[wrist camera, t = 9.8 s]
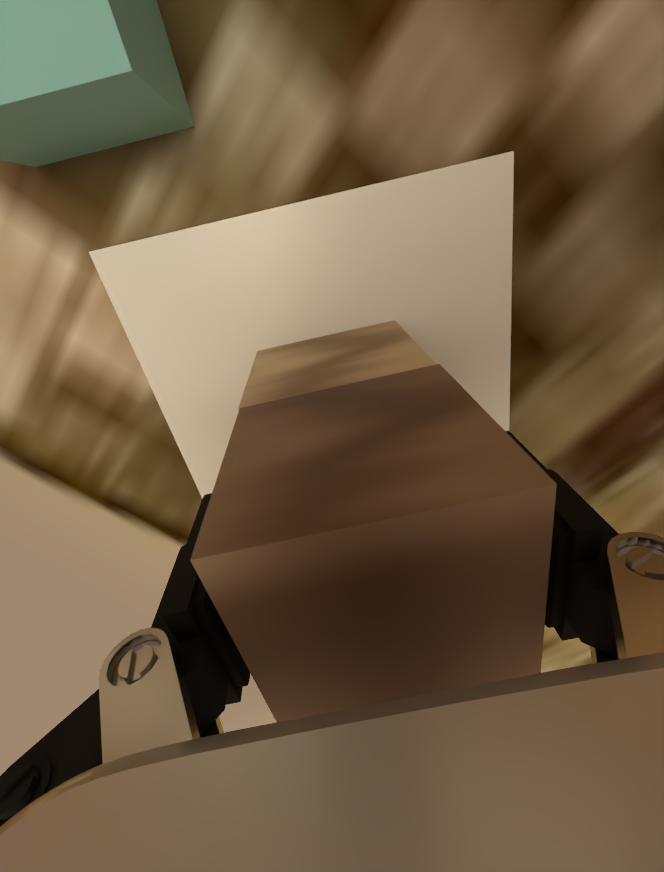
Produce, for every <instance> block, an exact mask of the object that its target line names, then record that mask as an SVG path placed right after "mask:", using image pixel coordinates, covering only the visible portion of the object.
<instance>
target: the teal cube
mask: <svg viewBox="0 0 664 872" xmlns="http://www.w3.org/2000/svg"><path fill="white" fill-rule="evenodd" d="M191 127H195V125H194V122H193V119H192V115H191V112H190V109H189V106H188V102H187V99H186V96H185V92H184V89H183V86H182V82H181V79H180V76H179V73H178V69H177V66H176V63H175V59H174V56H173V53H172V50H171V46H170V43H169V40H168V36H167V33H166V30H165V27H164V23H163V20H162V17H161V13H160V10H159V7H158V3H157V0H0V160H2V161H7V162H12V163H17V164H22V165H27V166H31V167H38V166H42V165H46V164H50V163H54V162H58V161H62V160H66V159H70V158H74V157H78V156H82V155H86V154H89V153H93V152H97V151H101V150H105V149H109V148H113V147H117V146H121V145H125V144H129V143H133V142H137V141H140V140H144V139H148V138H152V137H156V136H160V135H164V134H168V133H172V132H176V131H180V130H184V129H188V128H191Z"/></svg>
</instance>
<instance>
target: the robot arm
mask: <svg viewBox="0 0 664 872" xmlns="http://www.w3.org/2000/svg"><path fill="white" fill-rule="evenodd" d="M506 432H507V434H508V435H509V436H510V437H511V438H512V439H513V440H514V441H515V442H516V443H517V444H518V445H519V446H520V447H521V448H522V449H523V450H524V451H525V452H526V453H527V454H528V455H529V456H530V457H531V458H532V459H533V460H534V461H535V462H536V463H537V464H538V465H539V466H540V467H541V468H542V469H543V470H544V471H545V472H546V473H547V475H548V476H549V477H550V478H551V479H552V480H553V481H554V482H555V483H556V484H557V487H556V498H555V510H554V521H553V533H552V544H551V556H550V567H549V579H548V590H547V602H546V613H545V625H546V626H547V627H549V628H550V627H554V628H555V630H556V631H557V633H558V635H559V636H560V638H561V639H562V640H568V639H573V638H578V637H579V639H580V640H581V642H583V643H585V644H587V645H589V646H590V649H591V658H592V664H588V665H582V666H577V667H571V668H566V669H560V670H555V671H549V672H544V673H538V674H533V675H527V676H522V677H516V678H511V679H505V680H500V681H494V682H489V683H483V684H478V685H472V686H467V687H462V688H456V689H451V690H446V691H440V692H435V693H429V694H424V695H419V696H413V697H408V698H403V699H397V700H392V701H387V702H382V703H376V704H371V705H366V706H360V707H355V708H350V709H344V710H339V711H334V712H329V713H324V714H318V715H313V716H308V717H303V718H298V719H293V720H287V721H282V722H277V723H272V724H267V725H262V726H257V727H251V728H246V729H241V730H236V731H231V732H226V733H224V731H223V728H222V725H221V722H220V719H219V715H220V714H221V713H222V712H223V711H224V709H225V705H226V704H231V703H237V702H240V701H241V694H242V686H247V685H248V683H249V678H250V671H249V669H248V667H247V665H246V664H245V662H244V660H243V658H242V656H241V654H240V652H239V651H238V649H237V647H236V645H235V643H234V641H233V639H232V637H231V636H230V634H229V632H228V630H227V628H226V626H225V624H224V623H223V621H222V619H221V617H220V615H219V613H218V611H217V609H216V608H215V606H214V604H213V602H212V600H211V598H210V596H209V595H208V593H207V591H206V589H205V587H204V585H203V583H202V581H201V580H200V578H199V576H198V574H197V572H196V570H195V568H194V567H193V565H192V563H191V561H190V559H191V556H192V553H193V550H194V547H195V544H196V541H197V538H198V535H199V531H200V528H201V525H202V522H203V519H204V516H205V513H206V510H207V507H208V504H209V501H210V498H211V495H212V493H210V494H206V495H204V497H203V499H202V502H201V504H200V507H199V510H198V513H197V516H196V519H195V521H194V524H193V527H192V530H191V533H190V535H189V538H188V541H187V544H186V545H184V546H182V547H181V549H180V551H179V553H178V556H177V559H176V562H175V564H174V567H173V570H172V572H171V575H170V578H169V580H168V583H167V586H166V589H165V591H164V594H163V597H162V599H161V602H160V605H159V608H158V610H157V613H156V616H155V619H154V621H153V624H152V627H151V628H146V629H141V630H139V631H137V632H135V633H132V634H130V635H129V636H128V637H126V638H125V639H123V640H122V641H121V642H120V643H119V644H118V645H117V646H115V647H114V649H113V650H112V651H111V652H110V653H109V655H108V656H107V658H106V659H105V660H104V663H103V665H102V667H101V669H100V674H99V689H98V690H97V691H96V692H95V693H94V694H93V695H91V696H90V697H89V698H88V699H87V700H86V701H84V702H83V703H82V704H81V705H80V706H79V707H78V708H77V709H75V710H74V711H73V712H72V713H71V714H70V715H69V716H67V717H66V718H65V719H64V720H63V721H62V722H60V723H59V724H58V725H57V726H56V727H55V728H54V729H52V730H51V731H50V732H49V733H48V734H47V735H45V736H44V737H43V738H42V739H41V740H40V741H39V742H38V743H36V744H35V745H34V746H33V747H32V748H31V749H29V750H28V751H27V752H26V753H25V754H24V755H23V756H22V757H20V758H19V759H18V760H17V761H16V762H15V763H13V764H12V765H11V766H10V767H9V768H8V769H7V770H6V771H5V772H4V773H3V774H2V775H1V776H0V872H664V538H663V537H660V536H657V535H654V534H649V533H644V532H628V533H623V534H618V533H617V532H616V531H615V530H614V529H613V528H612V527H611V526H610V525H609V524H608V523H607V522H606V521H605V520H604V519H603V518H602V517H601V516H600V515H599V514H598V513H597V512H596V511H595V510H594V509H593V508H592V507H591V506H590V505H589V504H588V503H587V502H586V501H585V500H584V499H583V498H582V497H581V496H580V495H579V494H578V493H576V492H575V491H574V490H573V489H572V488H571V487H570V486H569V485H568V484H567V483H566V482H565V481H564V480H563V479H562V478H561V477H560V476H559V475H558V474H557V473H556V472H554V471H553V470H547V469H546V468H545V467H544V466H543V465H542V464H541V463H540V462H539V461H538V460H537V459H536V458H535V457H534V456H533V455H532V454H531V453H530V452H529V451H528V450H527V449H526V448H525V447H524V446H523V445H522V444H521V443H520V442H519V441H518V440H517V439H516V438H515V437H514V435H513V434H512V433H510V432H509V431H506Z"/></svg>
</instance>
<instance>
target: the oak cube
mask: <svg viewBox="0 0 664 872" xmlns="http://www.w3.org/2000/svg"><path fill="white" fill-rule="evenodd" d="M432 365H436V363H435V362H434V361H433V360H432V359H431V358H430V357H429V356H428V355H427V354H426V353H425V352H424V351H423V350H422V348H421V347H420V346H419V345H418V344H417V343H416V342H415V341H414V340H413V339H412V338H411V337H410V336H409V335H408V334H407V333H406V332H405V331H404V330H403V329H402V327H401V326H400V325H399V324H398V323H397V322H396V321H395V320H393V321H388V322H384V323H379V324H375V325H371V326H366V327H362V328H357V329H353V330H348V331H344V332H339V333H335V334H330V335H326V336H322V337H317V338H313V339H308V340H304V341H299V342H295V343H290V344H286V345H281V346H277V347H272V348H268V349H264V350H259V351H257V353H256V356H255V359H254V362H253V365H252V368H251V371H250V374H249V377H248V380H247V383H246V386H245V389H244V392H243V395H242V398H241V401H240V404H239V407H238V411H239V409H240V408H242V407H247V406H251V405H256V404H260V403H265V402H270V401H274V400H279V399H283V398H288V397H292V396H297V395H301V394H306V393H310V392H315V391H319V390H324V389H328V388H333V387H337V386H342V385H346V384H351V383H355V382H360V381H364V380H369V379H373V378H378V377H382V376H387V375H391V374H396V373H400V372H405V371H409V370H414V369H418V368H423V367H427V366H432Z"/></svg>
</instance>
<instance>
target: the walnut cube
mask: <svg viewBox="0 0 664 872" xmlns="http://www.w3.org/2000/svg"><path fill="white" fill-rule="evenodd" d="M556 487H557V484H556V483H555V482H554V481H553V480H552V479H551V478H550V477H549V476H548V475H547V473H546V472H545V471H544V470H543V469H542V468H541V467H540V466H539V465H538V464H537V463H536V462H535V461H534V460H533V459H532V458H531V457H530V456H529V455H528V454H527V453H526V452H525V451H524V450H523V449H522V448H521V447H520V446H519V445H518V444H517V443H516V442H515V441H514V440H513V439H512V438H511V437H510V436H509V435H508V434H507V432H506V431H505V430H504V429H503V428H502V427H501V426H500V425H499V424H498V423H497V422H496V421H495V420H494V419H493V418H492V417H491V416H490V415H489V414H488V413H487V412H486V411H485V410H484V409H483V408H482V407H481V406H480V405H479V404H478V403H477V402H476V401H475V400H474V399H473V398H472V397H471V396H470V395H469V394H468V393H467V391H466V390H465V389H464V388H463V387H462V386H461V385H460V384H459V383H458V382H457V381H456V380H455V379H454V378H453V377H452V376H451V375H450V374H449V373H448V372H447V371H446V370H445V369H444V368H443V367H442V366H441V365H440V364H436V365H432V366H427V367H423V368H418V369H414V370H409V371H405V372H400V373H396V374H391V375H387V376H382V377H378V378H373V379H369V380H364V381H360V382H355V383H351V384H346V385H342V386H337V387H333V388H328V389H324V390H319V391H315V392H310V393H306V394H301V395H297V396H292V397H288V398H283V399H279V400H274V401H270V402H265V403H260V404H256V405H251V406H247V407H242V408H240V409H239V412H238V415H237V418H236V421H235V424H234V427H233V430H232V434H231V437H230V440H229V443H228V446H227V449H226V452H225V455H224V458H223V461H222V464H221V467H220V470H219V473H218V476H217V479H216V483H215V486H214V489H213V492H212V495H211V498H210V501H209V504H208V507H207V510H206V513H205V516H204V519H203V522H202V525H201V528H200V531H199V535H198V538H197V541H196V544H195V547H194V550H193V553H192V556H191V559H190V561H191V563H192V565H193V567H194V568H195V570H196V572H197V574H198V576H199V578H200V580H201V581H202V583H203V585H204V587H205V589H206V591H207V593H208V595H209V596H210V598H211V600H212V602H213V604H214V606H215V608H216V609H217V611H218V613H219V615H220V617H221V619H222V621H223V623H224V624H225V626H226V628H227V630H228V632H229V634H230V636H231V637H232V639H233V641H234V643H235V645H236V647H237V649H238V651H239V652H240V654H241V656H242V658H243V660H244V662H245V664H246V665H247V667H248V669H249V671H250V673H251V675H252V676H253V679H254V680H255V682H256V684H257V686H258V688H259V689H260V691H261V693H262V695H263V697H264V699H265V701H266V703H267V705H268V707H269V708H270V710H271V712H272V714H273V716H274V718H275V719H276V721H277V722H282V721H287V720H293V719H298V718H303V717H308V716H313V715H318V714H324V713H329V712H334V711H339V710H344V709H350V708H355V707H360V706H366V705H371V704H376V703H382V702H387V701H392V700H397V699H403V698H408V697H413V696H419V695H424V694H429V693H435V692H440V691H446V690H451V689H456V688H462V687H467V686H472V685H478V684H483V683H489V682H494V681H500V680H505V679H511V678H516V677H522V676H527V675H533V674H538V673H540V671H541V659H542V648H543V636H544V625H545V613H546V602H547V590H548V579H549V567H550V556H551V544H552V533H553V521H554V510H555V498H556Z"/></svg>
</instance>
